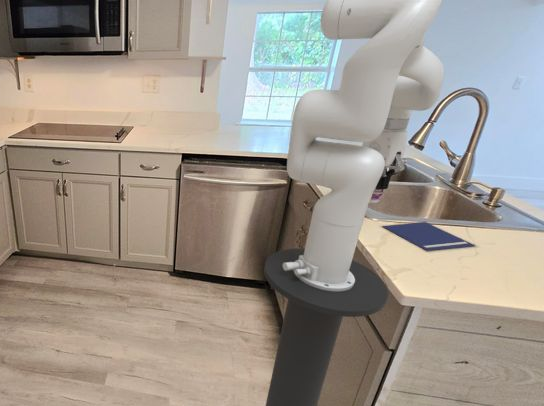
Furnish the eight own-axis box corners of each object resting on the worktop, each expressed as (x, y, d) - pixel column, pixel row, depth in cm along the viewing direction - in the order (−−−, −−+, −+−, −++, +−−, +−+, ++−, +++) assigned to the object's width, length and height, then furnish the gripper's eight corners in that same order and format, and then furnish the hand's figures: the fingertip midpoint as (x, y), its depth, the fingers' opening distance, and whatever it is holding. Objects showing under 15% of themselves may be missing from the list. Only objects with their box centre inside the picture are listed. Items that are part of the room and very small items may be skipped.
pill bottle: (366, 203, 106) (375, 172, 102) (354, 197, 111) (362, 166, 107) (384, 202, 106) (393, 171, 103) (370, 196, 111) (379, 165, 107)
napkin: (427, 251, 94) (427, 249, 94) (382, 226, 107) (382, 225, 107) (474, 246, 96) (475, 244, 96) (424, 222, 109) (425, 221, 108)
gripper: (354, 118, 107) (340, 176, 114) (405, 130, 91) (385, 197, 99) (377, 117, 108) (361, 175, 115) (432, 129, 92) (410, 195, 99)
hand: (373, 184), depth 107 cm, fingers closed on pill bottle, 5 cm apart
